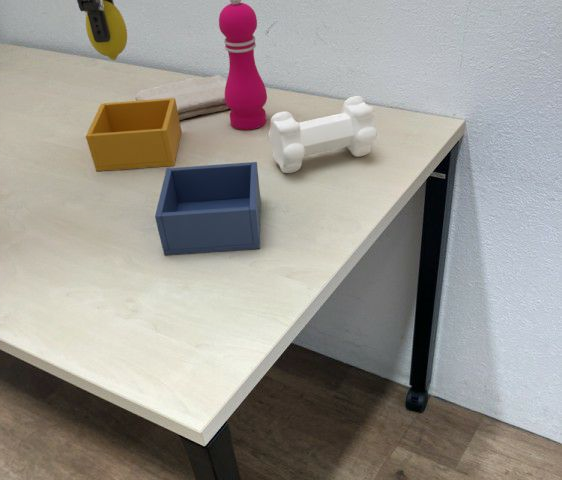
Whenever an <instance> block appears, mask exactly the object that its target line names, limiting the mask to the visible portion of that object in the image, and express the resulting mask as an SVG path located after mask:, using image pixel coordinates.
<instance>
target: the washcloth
mask: <svg viewBox="0 0 562 480" xmlns="http://www.w3.org/2000/svg"><path fill="white" fill-rule="evenodd" d="M227 79H228V77H224V76H222V75H221V74H215V75H212V76H208V77H196V76H192V77H189V78H187V79H184V80H181V81H174V82H169V83H163V84H160V85H157V86H152V87H148V88H143V89H142V90H140V91H138V92H137V93H136V94H135V101H140V100H153V99H166V98H170V99H171V98H175V100H176V105H177V111H178V116H179V121H182V120H185V119H189V118H192V117H196V116H199V115H200V116H201V115H207V114H213V113H217V112H223V111H226V110H230V109H229V107H228V106H227V105H226V103H225V86H226V83H227Z"/></svg>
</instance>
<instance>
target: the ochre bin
mask: <svg viewBox="0 0 562 480" xmlns="http://www.w3.org/2000/svg"><path fill="white" fill-rule="evenodd" d="M180 121H181V120H179V116H178V111H177V105H176V100H175V98H171V99H170V98H166V99H153V100H140V101H136V100H130V101H116V102H115V101H114V102H103V103H100V105H99V107H98V109H97V111H96V113H95V116H94V118H93V119H92V122H91V124H90V126H89V128H88V131H87V132H86V134H85V139H86V142H87V145H88V150H89V153H90V155H91V158H92V162H93V165H94V169H95V171H96V172H103V171H104V172H107V171H120V170H121V171H122V170H133V169H148V168H160V167H162V168H163V167H173V166H175V162H176V157H177V154H178V148H179V144H180V139H181V135H182V127H181V122H180Z"/></svg>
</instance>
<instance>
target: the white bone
mask: <svg viewBox="0 0 562 480" xmlns="http://www.w3.org/2000/svg"><path fill="white" fill-rule="evenodd" d="M374 112H375V111H374V107H372V106H371V105H369V104H367V103H366V102H365V99H364V98H363V97H362V96H359V95H354V96H350V97H348V98H347V99H345V100H344V102H343V104H342V108H341V112H340V113H337V114H332V115H327V116H322V117H318V118H313V119H309V120H304V121H300V122H297V121H296V119H295V118H294V117H293V115H292V114H291V113H290V112H289V111H279V112H276V113H274V114H273V115H272V116H271V118H270V129H269V130H268V138H269V141H270V146H271V150H272V159H273V161H274V162H275V163H277V165H278V166H279V168H280V171H281V172H282V173H284V174H293V173H296V172H297V171H299V170H300V169H301V168H302V164H303V159H304V157H305V156H311V155H314V154H319V153H323V152H327V151H332V150H336V149H340V148H341V149H342V148H345V147H346V148H347V149H348V150H349V151H350V154H351V155H352V156H353V157H357V158H359V157H364V156H367V155H368V154H369V153H370V152H371V151H372V148H373V144H374V142H375V141H376V140H377V138H378V131H377V129H376V128H377V127H376V121H375V117H374Z"/></svg>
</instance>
